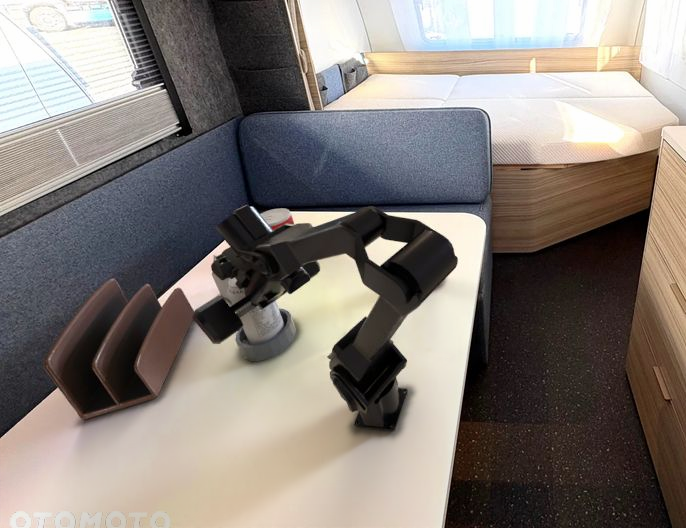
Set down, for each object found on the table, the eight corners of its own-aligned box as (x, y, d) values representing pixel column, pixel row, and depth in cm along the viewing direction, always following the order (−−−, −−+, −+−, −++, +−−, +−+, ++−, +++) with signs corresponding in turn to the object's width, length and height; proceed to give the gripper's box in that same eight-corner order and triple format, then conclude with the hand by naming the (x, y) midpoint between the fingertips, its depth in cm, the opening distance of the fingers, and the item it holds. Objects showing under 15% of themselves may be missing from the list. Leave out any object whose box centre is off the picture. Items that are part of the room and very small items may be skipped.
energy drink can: (273, 322, 77) (250, 262, 71) (293, 332, 75) (271, 270, 68) (244, 345, 72) (216, 283, 66) (265, 356, 70) (238, 293, 63)
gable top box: (240, 304, 82) (224, 267, 78) (221, 295, 85) (204, 259, 81) (256, 293, 85) (242, 257, 81) (237, 285, 88) (222, 249, 84)
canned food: (268, 248, 100) (255, 212, 96) (301, 240, 103) (290, 204, 99) (265, 265, 94) (251, 228, 89) (301, 256, 97) (289, 219, 92)
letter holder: (81, 422, 60) (32, 360, 55) (138, 328, 77) (105, 273, 71) (158, 399, 64) (119, 338, 58) (196, 313, 80) (169, 259, 74)
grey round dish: (276, 363, 69) (271, 349, 67) (229, 359, 70) (223, 345, 69) (305, 322, 77) (301, 309, 76) (263, 320, 78) (258, 307, 77)
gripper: (293, 208, 68) (273, 243, 78) (172, 271, 53) (166, 305, 63) (333, 256, 68) (308, 285, 78) (224, 332, 53) (209, 357, 63)
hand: (253, 304), depth 70 cm, fingers open, 9 cm apart
